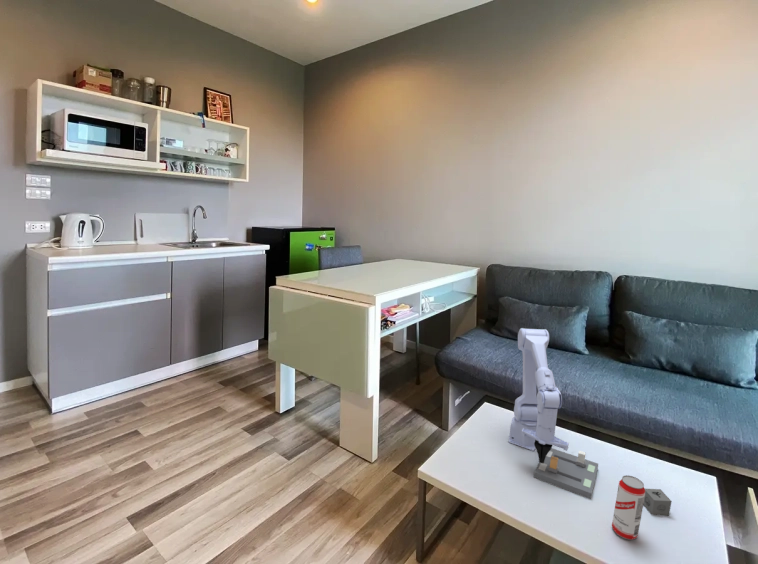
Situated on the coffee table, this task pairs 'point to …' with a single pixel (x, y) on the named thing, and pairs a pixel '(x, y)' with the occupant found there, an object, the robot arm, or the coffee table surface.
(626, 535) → the beer can
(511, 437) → the robot arm
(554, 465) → the orange lever
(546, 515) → the coffee table surface
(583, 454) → the white lever
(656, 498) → the dice cube
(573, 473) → the slider lever panel
